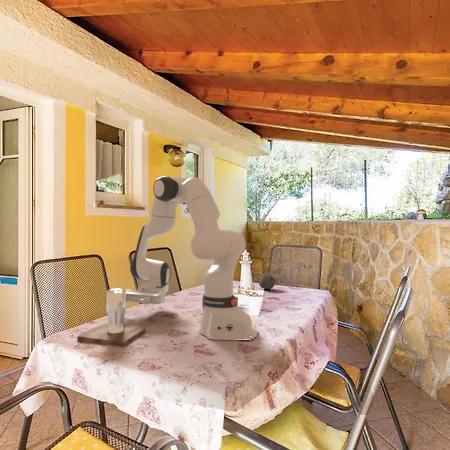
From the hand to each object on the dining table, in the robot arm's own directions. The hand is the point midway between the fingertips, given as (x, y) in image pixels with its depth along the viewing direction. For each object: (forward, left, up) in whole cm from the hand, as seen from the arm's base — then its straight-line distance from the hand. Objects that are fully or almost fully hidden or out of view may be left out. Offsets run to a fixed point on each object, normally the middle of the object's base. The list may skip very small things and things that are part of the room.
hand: (130, 300), depth 134 cm
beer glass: (-1, +12, -9) cm, 15 cm away
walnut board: (0, +12, -10) cm, 16 cm away
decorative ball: (-44, -88, -10) cm, 99 cm away
